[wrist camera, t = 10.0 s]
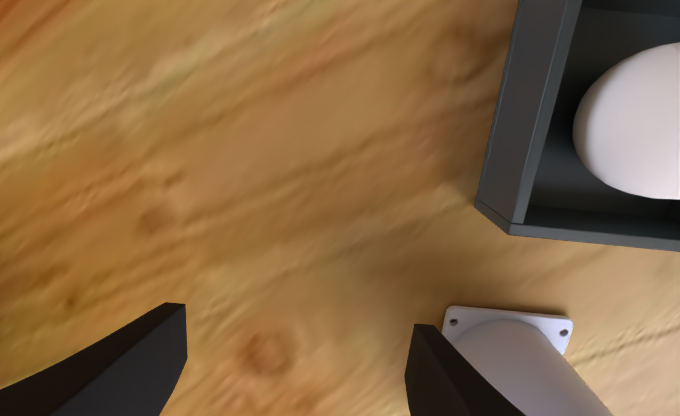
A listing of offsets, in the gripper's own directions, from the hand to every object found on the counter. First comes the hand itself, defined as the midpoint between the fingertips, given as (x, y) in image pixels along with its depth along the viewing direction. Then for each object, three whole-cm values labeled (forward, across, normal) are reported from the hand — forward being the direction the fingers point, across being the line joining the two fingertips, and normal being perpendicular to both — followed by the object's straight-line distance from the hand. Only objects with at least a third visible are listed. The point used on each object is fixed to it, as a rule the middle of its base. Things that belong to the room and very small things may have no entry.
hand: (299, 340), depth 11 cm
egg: (+10, -14, -8) cm, 19 cm away
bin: (+10, -14, -8) cm, 19 cm away
